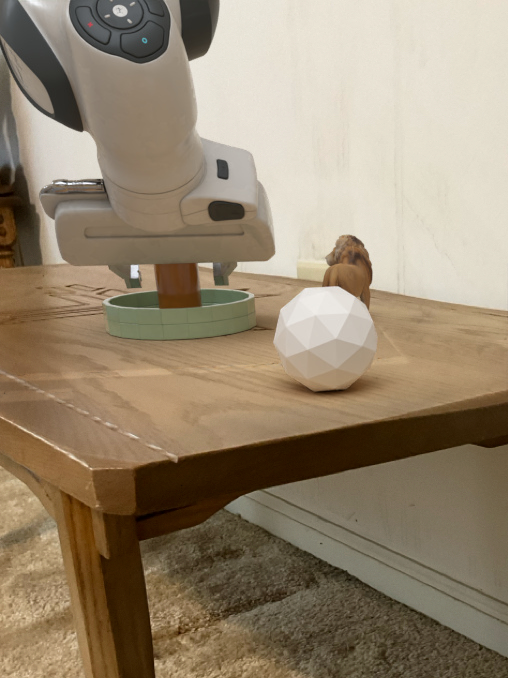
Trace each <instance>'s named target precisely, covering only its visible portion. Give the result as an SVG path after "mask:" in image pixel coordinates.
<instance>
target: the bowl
mask: <svg viewBox="0 0 508 678" xmlns="http://www.w3.org/2000/svg"><path fill="white" fill-rule="evenodd" d="M201 297H202V306H200V307H187V308H159V305H158V297H157V289H155V290H146V291H136V292H135V291H134V292H128V293H124V294H123V293H122V294H118V295H114V296H111V297H107V298H105V299H104V300H102V301H101V306H102V313H103V320H104V326H105V332H106V333H107V334H109V335H110V336H112V337H113V336H114V337H118V338H122V339H131V340H141V341H142V340H143V341H145V340H146V341H172V340H173V341H176V340H193V339H195V340H196V339H204V338H214V337H221V336H228V335H233V334H237V333H241V332H245V331H248V330H250V329H252V328H254V327H256V326H257V314H256V312H257V311H256V310H257V309H256V300H255V298H256V297H255V294H254V293H252V292H250V291H245V290H238V289H229V288H206V287H205V288H202V287H201Z"/></svg>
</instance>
